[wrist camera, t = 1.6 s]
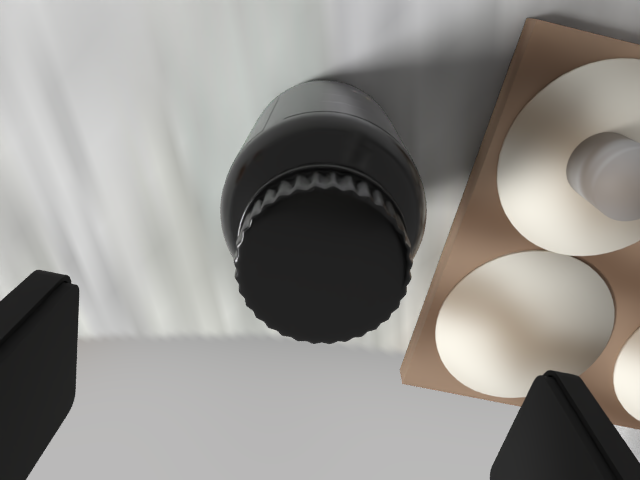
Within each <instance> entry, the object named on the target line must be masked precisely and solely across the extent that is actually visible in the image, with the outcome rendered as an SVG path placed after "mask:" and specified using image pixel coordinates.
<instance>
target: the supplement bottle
mask: <svg viewBox="0 0 640 480" xmlns="http://www.w3.org/2000/svg"><path fill="white" fill-rule="evenodd" d="M426 212H427V209H426V198H425V192H424V188H423V184H422V181H421V178H420V175H419V173H418V170H417V168H416V166H415V164H414V162H413V160H412V159H411V157H410V155H409V153H408V151H407V150H406V148H405V146H404V144H403V142H402V141H401V139H400V137H399V135H398V133H397V132H396V130H395V128H394V126H393V125H392V123H391V121H390V119H389V118H388V116H387V115H386V113H385V112H384V110H383V109H382V108H381V107H380V106H379V104H378V103H377V102H376V101H375V100H374V99H372V98H371V97H370V96H369V95H367V94H366V93H364V92H363V91H361V90H360V89H358V88H356V87H354V86H351V85H348V84H345V83H342V82H337V81H330V80H317V81H310V82H306V83H302V84H299V85H296V86H294V87H292V88H290V89H288V90H286V91H285V92H283V93H281V94H280V95H279V96H277V97H276V98H275V99H274V100H273V101H272V102H271V103H270V104H269V105H268V106H267V107H266V108H265V110H264V111H263V112H262V114H261V115H260V117H259V118H258V120H257V122H256V123H255V125H254V127H253V129H252V130H251V132H250V134H249V136H248V137H247V139H246V141H245V143H244V144H243V146H242V148H241V150H240V152H239V153H238V155H237V157H236V159H235V160H234V162H233V164H232V166H231V168H230V170H229V173H228V175H227V178H226V181H225V184H224V187H223V192H222V197H221V207H220V213H221V224H222V230H223V234H224V238H225V241H226V244H227V246H228V249H229V251H230V253H231V255H232V257H233V258H234V264H235V267H236V271H235V278H236V280H237V282H238V283H239V292H240V294H241V295H242V296H243V297H244V298H245V302H246V306H247V307H249V308H250V309H251V310H253V311H254V313H255V316H256V318H258V319H260V320H262V321H264V322H265V323H266V325H267V326H268V328H271V329H274V330H277V331H278V332H279V333H280V334H281V335H282V336H288V337H292V338H293V339H295V340H297V341H308V342H310V343H313V344H316V343H321V342H323V343H327V344H332V343H335V342H337V341H342V342H346V341H348V340H350V339H352V338H354V337H362V336H363V335H364V334H366V333H367V332H368V331H372V330H375V329H377V327H378V326H379V325H380V323H382V322H385V321H387V320H388V319H389V318H390V315H391V313H392V312H393V311H395V310H396V309H397V308H399V305H400V300H401V299H402V298H403V297H404V296H405V295H406V292H407V287H406V286H407V285H408V284H409V282H410V280H411V273H410V269H411V267H412V264H413V258H414V257H415V255H416V253H417V251H418V249H419V246H420V244H421V241H422V238H423V234H424V230H425V224H426Z"/></svg>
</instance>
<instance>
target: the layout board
mask: <svg viewBox="0 0 640 480" xmlns="http://www.w3.org/2000/svg"><path fill="white" fill-rule="evenodd" d="M548 370H554V371H559V372H564V373H569V374H574V375H577V376H579V377H580V378H581V379H582V380H583V382H584V383H585V385H586V386H587V387H588V389H589V390H590V392H591V393H592V395H593V396H594V398H595V399H596V401H597V402H598V403H599V405H600V406H601V408H602V409H603V411H604V412H605V414H606V415H607V417H608V418H609V419H610V421H611V422H612V424H614V425H619V426H624V427H629V428H634V429H640V45H638V44H634V43H630V42H626V41H622V40H618V39H614V38H610V37H606V36H602V35H598V34H594V33H590V32H586V31H582V30H578V29H574V28H570V27H566V26H562V25H558V24H554V23H550V22H546V21H542V20H538V19H531V18H527V19H526V21H525V24H524V27H523V30H522V33H521V35H520V38H519V41H518V44H517V46H516V49H515V52H514V55H513V58H512V60H511V63H510V66H509V69H508V71H507V74H506V77H505V80H504V82H503V85H502V88H501V91H500V94H499V96H498V99H497V102H496V105H495V107H494V110H493V113H492V116H491V118H490V121H489V124H488V127H487V130H486V132H485V135H484V138H483V141H482V143H481V146H480V149H479V152H478V155H477V157H476V160H475V163H474V166H473V168H472V171H471V174H470V177H469V179H468V182H467V185H466V188H465V191H464V193H463V196H462V199H461V202H460V204H459V207H458V210H457V213H456V215H455V218H454V221H453V224H452V227H451V229H450V232H449V235H448V238H447V240H446V243H445V246H444V249H443V252H442V254H441V257H440V260H439V263H438V265H437V268H436V271H435V274H434V276H433V279H432V282H431V285H430V288H429V290H428V293H427V296H426V299H425V301H424V304H423V307H422V310H421V312H420V315H419V318H418V321H417V324H416V326H415V329H414V332H413V335H412V337H411V340H410V343H409V346H408V349H407V351H406V354H405V357H404V360H403V362H402V365H401V368H400V373H401V378H402V384H406V385H412V386H417V387H422V388H427V389H432V390H438V391H443V392H448V393H453V394H458V395H463V396H469V397H474V398H480V399H484V400H490V401H495V402H500V403H505V404H510V405H515V406H520V407H521V406H522V404H523V402H524V400H525V398H526V395H527V393H528V391H529V389H530V387H531V385H532V383H533V381H534V379H535V378H536V377H537V376H539V375H543V374H544V373H545V372H546V371H548Z"/></svg>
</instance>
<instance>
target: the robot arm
mask: <svg viewBox="0 0 640 480" xmlns="http://www.w3.org/2000/svg"><path fill="white" fill-rule="evenodd" d="M78 312H79V287H78V286H77V285H75V284H71V279H70V277H69V276H68V275H63V274H58V273H53V272H48V271H42V270H36V271H34V272H33V273H32V274H30V275H29V276H28V277H27V278H26V279H25V280H24V281H23V282H22V283H20V284H19V285H18V286H17V287H16V288H15V289H14V290H13V291H11V292H10V293H9V294H8V295H7V296H6V297H5V298H4V299H2V300H1V301H0V480H26V478H27V477H28V475H29V474H30V472H31V471H32V469H33V467H34V466H35V464H36V463H37V461H38V460H39V458H40V457H41V455H42V454H43V452H44V450H45V449H46V447H47V446H48V444H49V442H50V441H51V439H52V438H53V436H54V435H55V433H56V432H57V430H58V429H59V427H60V425H61V424H62V422H63V421H64V419H65V418H66V416H67V414H68V413H69V411H70V409H71V407H72V404H73V401H74V397H75V389H76V364H77V362H76V361H77V338H78ZM490 480H640V463H639V462H638V460H637V459H636V457H635V456H634V454H633V453H632V451H631V450H630V448H629V447H628V446H627V444H626V443H625V441H624V440H623V438H622V437H621V435H620V434H619V432H618V431H617V430H616V428H615V427H614V425H613V424H612V422H611V421H610V419H609V418H608V417H607V415H606V414H605V412H604V411H603V409H602V408H601V406H600V405H599V403H598V402H597V401H596V399H595V398H594V396H593V395H592V393H591V392H590V390H589V389H588V387H587V386H586V385H585V383H584V382H583V380H582V379H581V378H580V377H579V376H577V375H574V374H569V373H564V372H559V371H554V370H548V371H546V372H545V373H544V374H543V375H539V376H537V377H536V378H535V379H534V381H533V383H532V385H531V387H530V389H529V391H528V393H527V395H526V398H525V400H524V402H523V404H522V406H521V408H520V410H519V412H518V414H517V416H516V418H515V420H514V422H513V425H512V427H511V428H510V430H509V433H508V435H507V437H506V439H505V441H504V443H503V445H502V447H501V449H500V451H499V453H498V456H497V457H496V459H495V461H494V464H493V465H492V468H491V472H490Z"/></svg>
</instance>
